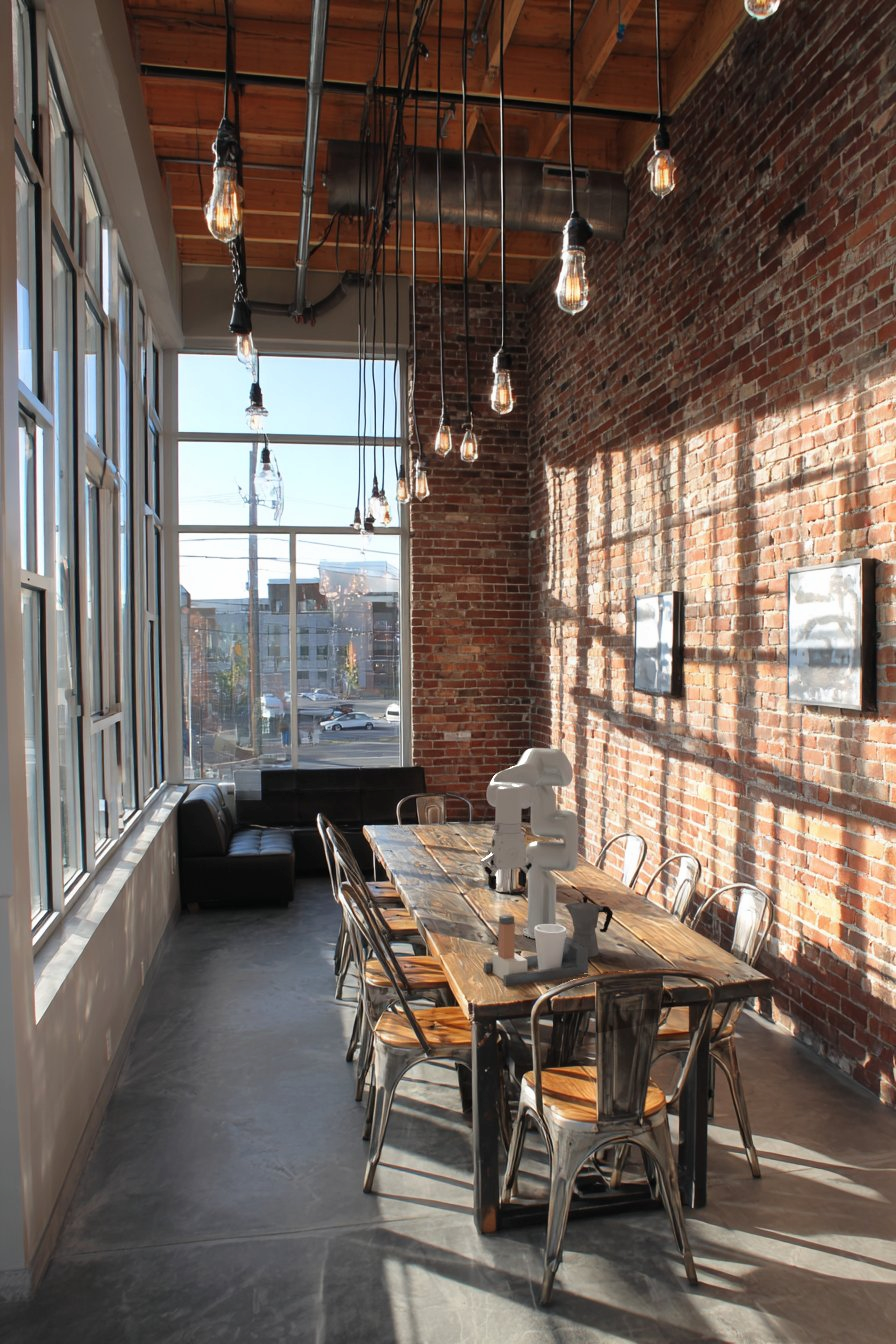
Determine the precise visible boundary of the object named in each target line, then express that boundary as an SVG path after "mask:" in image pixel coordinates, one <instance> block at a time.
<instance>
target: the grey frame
mask: <svg viewBox="0 0 896 1344" xmlns="http://www.w3.org/2000/svg"><path fill="white" fill-rule="evenodd" d="M522 957H523V958H525V959H526V960H527V969H529V968H536V967H538V958H537V954H536V955H531V956H528V955H527V956H522ZM483 973H484V974H494V973H493V960H491V961H485V962H483ZM584 973H588V974H589V957H588V947H587V946H585V945H583V944H581V943H579V942H577V941H575V940H573V939H572V938H571V937H569V936H567V935H566V938H565V943H564V950H563V957H562V964H561V967H558V968H551V969H544V970H539V969H538V970H530V971H527V972H522V973H515V974H508V975H504V976H503V979H502V980H503V981H502V982H503V984H502V985H503V986H504V987H514V986H520V985H526V984H534V983H542V982H546V981H554V980H562V979H568V978H569V977H570V978H574V977H573V976H576V977H579V976H580V975H579V974H584Z"/></svg>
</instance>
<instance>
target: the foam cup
mask: <svg viewBox="0 0 896 1344" xmlns="http://www.w3.org/2000/svg"><path fill="white" fill-rule="evenodd" d="M534 936H535V946H536V955H537V958H538V966H537V967H538V970H544V969H551V968H558V967H561V964H562V957H563V950H564V943H565V938H566V936H567V928H566V927H565V926H563V925H560V924H556V925H555V924H542V925H537V926H535V928H534Z"/></svg>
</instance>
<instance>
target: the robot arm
mask: <svg viewBox="0 0 896 1344" xmlns="http://www.w3.org/2000/svg"><path fill="white" fill-rule="evenodd" d="M573 776H574V770H573V766H572V764H571V762H570V760H569V758H568V757H567V755H566V753H565V752H564V751H562V750H561V749H559V748H548V747H547V748H546V747H545V748H544V747H532V748H528V749H526V750H525V751H524V752H523V753H522V755H521V756H520V757H519V759H518V761H517V764H515V765H514V766H510V767H509V768H505V769H504V770H501V771H499V772H497V773H496V774H495V775H494V776H493V777H492V779H491V780H490V782H489V783H488V786H487V788H486V801H487V802H488V804H489V805H490V806H491V807H494V808H495V818H494V819H495V821H494V825H491V830H492V831H494V833H493V835H492V838H491V842H490V843H491V844H490V853H489V854H488V855H487V856H485V857H484V858H482V859H481V860H479V862H480V864H481V867H482V870H483V871H484V872H485V873H486V874H487V875H488V878H487V884H488V887H489V889H491V890H493V891H496V889H497V876H496V873H498V871H499V870H502V871H503V870H514V869H518V870H519V871H518V874H517V875H518V877H517V880H518V883H517V885H518V886H520V887H522V888H526V884H527V918H525V920H524V922H525V924H526V927H525V928H523V929H522V935H523V934H524V936H525V937H526V936H527V937H526V938H529V937H530V939H535V936H534V928H535V926H537V925H542V924H555V925H557V922H556V920H557V919H556V916H557V913H556V912H557V882H556V879H555V878H554V875H553V874H552V873H551V871H554V872H568V873H569V872H570V873H571V872H573V871H575V870H576V869H577V866H578V859H579V821H578V817H577V815H576V813H575V812H573V811H572V810H571V811H570V810H565V809H563V810H562V809H557V795H556V792H555V790H554V787H568V786H569V785H570V784H571V783H572V780H573V778H574V777H573ZM528 808H530V829H531V830H530V831H531V833H532V835H534V836H536V837H538V838H545V839H547V838H548V839H559V840H560V839H561V840H562V842H561V841H547V840H546V841H545V840H537V841H532V842H530V843H528V844H526V840H525V839H526V838H525V834H524V832H522V810H523V809H528ZM526 845H527V846H526ZM488 863H489V865H490V866H489V865H488Z"/></svg>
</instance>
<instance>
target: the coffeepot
mask: <svg viewBox="0 0 896 1344" xmlns="http://www.w3.org/2000/svg"><path fill="white" fill-rule="evenodd" d="M588 899H589V897H588V896H582V900H583V901H582V902H574V903H568V904H565V905H564V907H565V908H566V909H567V911H568V913H569V914H570V917H571V919H572V925H573V933H572V938H571V939H573V940H575V941H577V942H579V943H581V944H583V945H585V946H587V947H588V958H594V957H597V956H599V954H600V951H599V946H598V937H597V933H596V928H597V927H598V921H599V914H600V913H606V914H607V915H606V917H605V921H604V924H603V928H599V931H600V933H607V932H608V928H609V926H610V923H611V920H612V918H613V914H614V912H613V911H612V909H611V908H610V907H609V906H607V905H598V904H596V903H592V902H588Z"/></svg>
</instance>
